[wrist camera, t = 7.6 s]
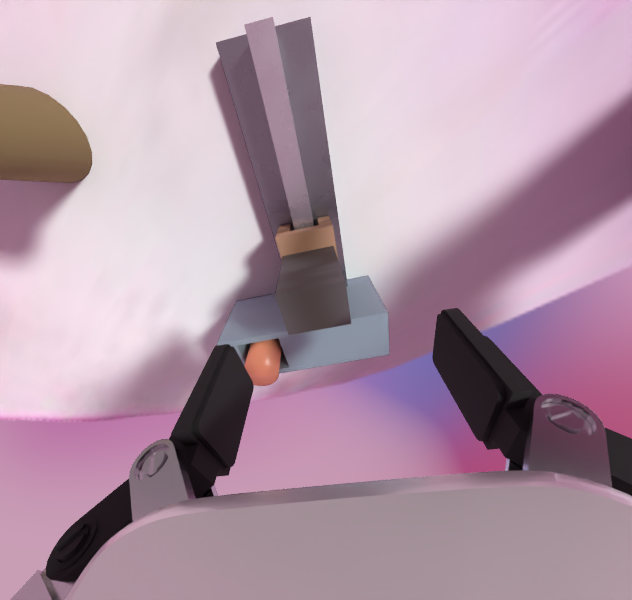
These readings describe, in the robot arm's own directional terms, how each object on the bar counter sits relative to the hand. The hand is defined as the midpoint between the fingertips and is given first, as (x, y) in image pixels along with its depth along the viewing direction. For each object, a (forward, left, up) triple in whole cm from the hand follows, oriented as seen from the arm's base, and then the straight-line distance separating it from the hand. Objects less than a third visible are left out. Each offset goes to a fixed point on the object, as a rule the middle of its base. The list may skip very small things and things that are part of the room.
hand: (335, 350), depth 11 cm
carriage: (+1, 0, -13) cm, 13 cm away
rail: (+1, -5, -15) cm, 15 cm away
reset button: (+7, +7, -12) cm, 15 cm away
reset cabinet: (+3, +7, -15) cm, 16 cm away
